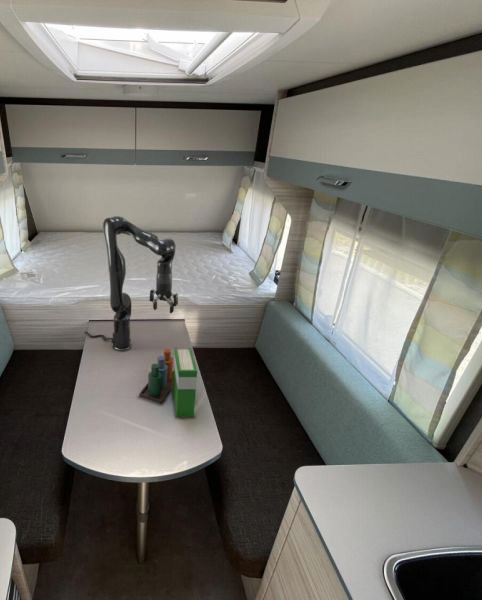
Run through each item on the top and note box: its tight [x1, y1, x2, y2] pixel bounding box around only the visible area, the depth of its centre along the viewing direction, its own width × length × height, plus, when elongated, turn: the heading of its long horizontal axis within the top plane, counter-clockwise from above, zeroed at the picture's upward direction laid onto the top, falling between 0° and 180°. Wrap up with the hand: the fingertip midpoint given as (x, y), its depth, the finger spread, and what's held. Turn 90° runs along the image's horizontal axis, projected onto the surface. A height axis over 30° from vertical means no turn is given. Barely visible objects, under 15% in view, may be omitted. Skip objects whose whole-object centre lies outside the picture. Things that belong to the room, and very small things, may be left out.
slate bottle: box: [157, 355, 167, 390], centre depth 155 cm, size 6×6×16 cm
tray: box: [138, 370, 174, 405], centre depth 158 cm, size 11×23×2 cm, turn 153°
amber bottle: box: [163, 348, 174, 381], centre depth 161 cm, size 6×6×16 cm
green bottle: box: [147, 363, 161, 398], centre depth 150 cm, size 6×6×16 cm
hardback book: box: [172, 347, 198, 418], centre depth 143 cm, size 18×7×24 cm, turn 1°
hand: (163, 311), depth 163 cm, fingers open, 8 cm apart
